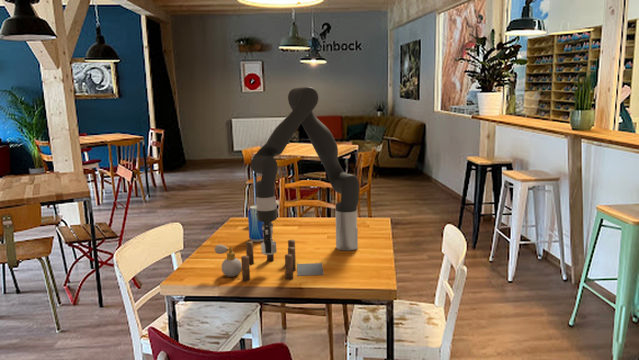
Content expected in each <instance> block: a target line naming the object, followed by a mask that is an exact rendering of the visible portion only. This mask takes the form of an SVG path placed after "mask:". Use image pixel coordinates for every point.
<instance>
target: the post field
mask: <svg viewBox="0 0 639 360" xmlns="http://www.w3.org/2000/svg"><path fill="white" fill-rule="evenodd" d="M272 240H273V241H274V238H272ZM287 247H288V248H287V254H285V255H284V267H285V269H284V270H285V280H288V281H291V280H293V279H294V272H295V271H296V269H297V263H296V261H297V260H296V240H295V239H289V240H287ZM245 251H246V252H245V254H246V255H242V256H241V259H240V262H241V266H242V267H241V275H242V277H241V279H242V282H249V281H251V273H250V272H251V271H250V266H253V265H254V263H255V262H254V259H255V258H254V243H253V241H251V240H249V241H248V240H247V241H246V242H245ZM274 256H275V253H274V254H273V255H266V261H267V262H273V261H275V257H274Z"/></svg>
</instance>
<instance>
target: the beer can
mask: <svg viewBox="0 0 639 360" xmlns="http://www.w3.org/2000/svg"><path fill="white" fill-rule="evenodd" d="M247 219H248V238H249V240H250V241H252V242H255V243H258V242H259V243H260V242H261V243H262V242H264V237H263V230H262V226H263V224H264V222H260V221H258V220H257V208H256V204H254V205H251V206H249V209H248V210H247Z"/></svg>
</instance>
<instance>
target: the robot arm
mask: <svg viewBox="0 0 639 360" xmlns="http://www.w3.org/2000/svg"><path fill="white" fill-rule="evenodd" d="M287 101H288V104H289V107H290V108H291V110H292V111H291V112H290V113H289V114H288V115H287V117H286V118H284V119H283V120H282V121H281V122H280V123H279V124H278V125H277V126H276V127H275V128H274V129H273V131H272V133H271V135H270V136H269V138H268V140H267V141H266V142H265V144H264V145H263V146H262V147H260V148H259V150H258V151H256V153H254V155H253V157H252V158H251V161H250V168H251V171H253V172H254V173H256V174H260V175H261V179H260V180H258V181H257V182H256V183H255V195H256V199H255V200H256V202H255V205H256V208H257V220H258V221H260V222H264V224H263V226H262V230H263V237H264V241H263V242H264V244H265V250H266V253H271V243H272V241H271V240H272V239H273V232H274V230H273V229H274V223H273V222H274V221H276V220H277V219H278V213H277V211H278V209H277V208H278V207H277V199H276V191H275V190H276V187H275V185H276V184H275V183H276V180H277V176H278V175H277V174H278V169H279V168H278V166H279V165H278V162H277V160H276V159H275V157H276V156H280V155H281V154H283V152H284V151H285V149H286V147H287V145H288V144H289V142H290V140H291V139H292V137H293V135H294V134H295V133H296V131H297V130H298V128H300V126H301V125H302V128H303V129H304V132H305V133H306V135H307V136H308V139H309V140H310V142H311V143H310V144H311V145H312V147H313V149H314V151H315V152H316V155H317V157H318V158H319V160H320V162H321V164H322V165H323V167H324V170H325V173H326V174H327V177H328V180H329V182H330V185H331V188H332V189H333V191H334V192H336V193H337V194H340V195H341V196H340V197H341V198H340V199H341V200H340V201H337V202H336V203H335V245H336V246H335V247H336V249H337V250H338V251H344V252H346V251H347V252H348V251H355V250H358V249H359V247H358V246H359V244H358V241H359V240H358V236H359V235H358V230H359V229H358V219H357V218H358V217H357V216H358V211H357V210H358V204H359V201H360V200H359V199H360V198H359V197H360V181H359V179H358V176H356V175H355V174H351V173H346V172H345V171H344V170H343V168H342V166H341V164H340V162H339V148H338V145H337V142H336V140H335V138H334V135H333V134H332V132H331V130H330V129H329V128H328V127H327V126H326V125H325V124H324V123H323V122H322V121H321V120H320V119H318V118H317V116H316V114H314V112H313V111H314V109H315V108H316V107H317V105H318V103H319V93H318V92H317V90H316V88H314V87H311V86H301V87H299V86H298V87H294V88H292V89H290V91H289V92H288V95H287Z"/></svg>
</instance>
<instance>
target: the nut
mask: <svg viewBox="0 0 639 360" xmlns="http://www.w3.org/2000/svg"><path fill="white" fill-rule="evenodd" d="M271 241H272V243H271V253H266V250H265V244H264V241H261V243H260V247H261V248H260V249H261V250H260V251H261V254H262V255H263V256H267V255H273V254H274V255H275V254H276V253H277V242H276V241H274V239H273V240H271Z"/></svg>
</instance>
